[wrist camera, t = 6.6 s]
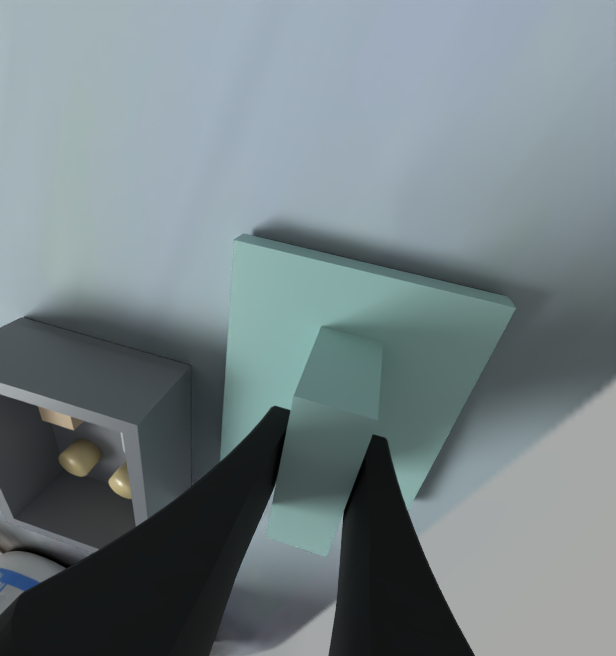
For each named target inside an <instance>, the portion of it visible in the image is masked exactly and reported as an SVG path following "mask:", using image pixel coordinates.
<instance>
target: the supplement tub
mask: <svg viewBox="0 0 616 656" xmlns="http://www.w3.org/2000/svg"><path fill="white" fill-rule="evenodd" d="M64 569H66V568H65V567H63V566H61V565H59V564H57V563H56V562H54V561H52V560H49V559H47V558H45V557H42V556H39V555H36V554H33V553H29V552H23V551H11V552H7V553H4V554H2V555H0V614H1V613H2V612H3V611H4V610H5V609H6V608H7V607H8V606H9V605H10V604H11V603H12V602H13V601H14V600H15V599H16V598H17V597H18V596H19V595H20V594H21V593H23V592H24V591H26V590H28V589H30V588H31V587H33V586H35V585H37V584H39V583H41V582H43V581H44V580H46V579H48V578H50V577H52V576H53V575H55V574H57V573H59V572H61V571H63V570H64Z"/></svg>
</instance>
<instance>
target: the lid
mask: <svg viewBox="0 0 616 656" xmlns="http://www.w3.org/2000/svg"><path fill="white" fill-rule="evenodd" d="M515 309H516V307H515V306H514V304H513V303H512V301H511V300H510V299H509V297H508V296H504V295H499V294H495V293H491V292H487V291H483V290H478V289H474V288H470V287H466V286H462V285H457V284H453V283H449V282H445V281H441V280H436V279H432V278H428V277H424V276H420V275H416V274H411V273H407V272H403V271H399V270H395V269H390V268H386V267H382V266H378V265H374V264H369V263H365V262H361V261H357V260H353V259H348V258H344V257H340V256H336V255H332V254H328V253H323V252H319V251H315V250H311V249H307V248H302V247H298V246H294V245H290V244H286V243H281V242H277V241H273V240H269V239H265V238H260V237H256V236H252V235H248V234H242V235H241V236H239V237H237V238H236V239H234V242H233V258H232V274H231V290H230V306H229V322H228V338H227V354H226V370H225V386H224V402H223V418H222V433H221V449H220V461H222V460H223V459H224V458H225V457H226V456H227V455H228V454H229V453H230V452H231V451H232V450H233V449H234V448H235V447H236V446H237V445H238V444H239V443H240V442H241V441H242V440H243V439H244V438H245V437H246V436H247V435H248V434H249V433H250V432H251V431H252V430H253V429H254V428H255V426H256V425H257V424H258V423H259V422H260V421H261V419H262V418H263V417H264V416H265V415H266V413H267V412H268V411H269V409H270V408H271V407H273V406H278V407H282V408H285V409H289V410H291V411H290V416H289V421H288V426H287V431H286V436H285V441H284V446H283V451H282V456H281V461H280V467H279V472H278V477H277V481H276V487H275V492H274V497H273V502H272V507H271V512H270V517H269V523H268V528H267V533H266V537H267V538H270V539H273V540H276V541H279V542H282V543H285V544H288V545H291V546H294V547H297V548H300V549H303V550H306V551H309V552H312V553H315V554H318V555H321V556H324V557H327V554H328V552H329V549H330V546H331V544H332V541H333V538H334V536H335V533H336V530H337V528H338V525H339V522H340V520H341V517H342V514H343V512H344V509H345V506H346V504H347V501H348V499H349V496H350V493H351V491H352V488H353V485H354V483H355V480H356V477H357V475H358V472H359V469H360V467H361V464H362V461H363V459H364V456H365V453H366V451H367V448H368V445H369V443H370V440H371V437H372V435H373V434H374V435H378V436H381V437H385V438H386V439H387V441H388V444H389V449H390V454H391V458H392V462H393V466H394V469H395V473H396V476H397V480H398V483H399V486H400V490H401V493H402V496H403V499H404V502H405V505H406V507H407V510H409V508H410V506H411V504H412V502H413V500H414V498H415V496H416V495H417V493H418V491H419V489H420V487H421V485H422V483H423V482H424V480H425V478H426V476H427V474H428V472H429V470H430V468H431V467H432V465H433V463H434V461H435V459H436V457H437V455H438V453H439V452H440V450H441V448H442V446H443V444H444V442H445V440H446V438H447V437H448V435H449V433H450V431H451V429H452V427H453V425H454V424H455V422H456V420H457V418H458V416H459V414H460V412H461V410H462V409H463V407H464V405H465V403H466V401H467V399H468V397H469V395H470V394H471V392H472V390H473V388H474V386H475V384H476V382H477V380H478V379H479V377H480V375H481V373H482V371H483V369H484V367H485V366H486V364H487V362H488V360H489V358H490V356H491V354H492V352H493V351H494V349H495V347H496V345H497V343H498V341H499V339H500V337H501V336H502V334H503V332H504V330H505V328H506V326H507V324H508V323H509V321H510V319H511V317H512V315H513V313H514V311H515Z"/></svg>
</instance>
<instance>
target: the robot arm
mask: <svg viewBox="0 0 616 656" xmlns="http://www.w3.org/2000/svg"><path fill="white" fill-rule="evenodd" d="M290 411H291V410H289V409H285V408H282V407H278V406H273V407H271V408H270V409H269V411H268V412H267V413H266V415H265V416H264V417H263V418H262V419H261V421H260V422H259V423H258V424H257V425H256V426H255V428H254V429H253V430H252V431H251V432H250V433H249V434H248V435H247V436H246V437H245V438H244V439H243V440H242V441H241V442H240V443H239V444H238V445H237V446H236V447H235V448H234V449H233V450H232V451H231V452H230V453H229V454H228V455H227V456H226V457H225V458H224V459H223V460H222V461H220V462H219V463H218V464H217V465H216V466H215V467H214V468H213V469H212V470H210V471H209V472H208V473H207V474H206V475H205V476H204V477H202V478H201V479H200V480H199V481H198V482H196V483H195V484H194V485H193V486H191V487H190V488H189V489H188V490H186V491H185V492H184V493H182V494H181V495H180V496H179V497H177V498H176V499H175V500H173V501H172V502H171V503H169V504H168V505H166V506H165V507H164V508H162V509H161V510H159V511H158V512H157V513H155V514H154V515H152V516H151V517H150V518H148V519H147V520H145V521H144V522H142V523H141V524H139V525H138V526H136V527H135V528H133V529H132V530H130V531H128V532H127V533H125V534H124V535H122V536H120V537H119V538H117V539H116V540H114V541H112V542H111V543H109V544H107V545H106V546H104V547H103V548H101V549H99V550H98V551H96V552H95V553H93V554H91V555H89V556H88V557H86V558H84V559H83V560H81V561H79V562H77V563H75V564H74V565H72V566H70V567H68V568H66V569H64V570H63V571H61V572H59V573H57V574H55V575H53V576H52V577H50V578H48V579H46V580H44V581H43V582H41V583H39V584H37V585H35V586H33V587H31V588H30V589H28V590H26V591H24V592H23V593H21V594H20V595H19V596H18V597H17V598H16V599H15V600H14V601H13V602H12V603H11V604H10V605H9V606H8V607H7V608H6V609H5V610H4V611H3V612H2V613H1V614H0V656H209V654H210V651H211V649H212V646H213V643H214V640H215V637H216V634H217V631H218V628H219V625H220V622H221V619H222V616H223V613H224V610H225V607H226V605H227V602H228V599H229V596H230V593H231V590H232V587H233V584H234V581H235V578H236V576H237V573H238V571H239V568H240V565H241V563H242V560H243V558H244V556H245V553H246V551H247V549H248V547H249V544H250V542H251V540H252V537H253V535H254V533H255V530H256V528H257V526H258V524H259V521H260V519H261V517H262V514H263V512H264V510H265V508H266V505H267V503H268V501H269V498H270V496H271V494H272V491H273V489H274V487H275V484H276V481H277V477H278V472H279V467H280V461H281V456H282V451H283V446H284V441H285V436H286V431H287V426H288V421H289V416H290ZM329 656H475V655H474V653H473V651H472V649H471V648H470V646H469V644H468V642H467V640H466V639H465V637H464V635H463V633H462V631H461V629H460V628H459V626H458V624H457V622H456V620H455V618H454V616H453V614H452V612H451V610H450V608H449V606H448V604H447V602H446V600H445V598H444V596H443V594H442V592H441V590H440V588H439V586H438V584H437V581H436V579H435V577H434V575H433V573H432V571H431V568H430V566H429V564H428V561H427V559H426V557H425V554H424V552H423V550H422V547H421V545H420V542H419V540H418V537H417V535H416V532H415V530H414V527H413V524H412V522H411V519H410V516H409V513H408V510H407V507H406V505H405V502H404V499H403V496H402V493H401V490H400V486H399V483H398V480H397V476H396V473H395V469H394V466H393V462H392V458H391V454H390V449H389V444H388V441H387V439H386V438H385V437H381V436H378V435H374V434H373V435H372V437H371V440H370V443H369V445H368V448H367V451H366V453H365V456H364V459H363V461H362V464H361V467H360V469H359V472H358V475H357V477H356V480H355V483H354V485H353V488H352V491H351V493H350V496H349V499H348V501H347V504H346V506H345V509H344V514H343V527H342V540H341V554H340V568H339V581H338V594H337V603H336V612H335V618H334V625H333V631H332V638H331V645H330V650H329Z"/></svg>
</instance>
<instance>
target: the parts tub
mask: <svg viewBox="0 0 616 656" xmlns="http://www.w3.org/2000/svg"><path fill="white" fill-rule="evenodd" d="M190 487H191V366H190V365H187V364H183V363H180V362H176V361H173V360H169V359H166V358H162V357H159V356H155V355H152V354H149V353H145V352H142V351H138V350H135V349H131V348H128V347H124V346H121V345H117V344H114V343H110V342H107V341H103V340H100V339H96V338H93V337H89V336H86V335H82V334H79V333H75V332H72V331H68V330H65V329H61V328H58V327H54V326H51V325H47V324H44V323H40V322H37V321H33V320H30V319H26V318H23V317H22V318H19V319H17V320H15V321H13V322H11V323H9V324H7V325H5V326H3V327H1V328H0V509H1V511H2V513H3V516H4V518H5V520H6V522H8V523H11V524H14V525H16V526H19V527H22V528H25V529H27V530H30V531H33V532H36V533H39V534H41V535H44V536H47V537H50V538H53V539H55V540H58V541H61V542H64V543H66V544H69V545H72V546H75V547H78V548H80V549H83V550H86V551H89V552H91V553H95V552H96V551H98V550H99V549H101V548H103V547H104V546H106V545H107V544H109V543H111V542H112V541H114V540H116V539H117V538H119V537H120V536H122V535H124V534H125V533H127V532H128V531H130V530H132V529H133V528H135V527H136V526H138V525H139V524H141V523H142V522H144V521H145V520H147V519H148V518H150V517H151V516H152V515H154V514H155V513H157V512H158V511H159V510H161V509H162V508H164V507H165V506H166V505H168V504H169V503H171V502H172V501H173V500H175V499H176V498H177V497H179V496H180V495H181V494H182V493H184V492H185V491H186V490H188V489H189V488H190Z"/></svg>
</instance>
